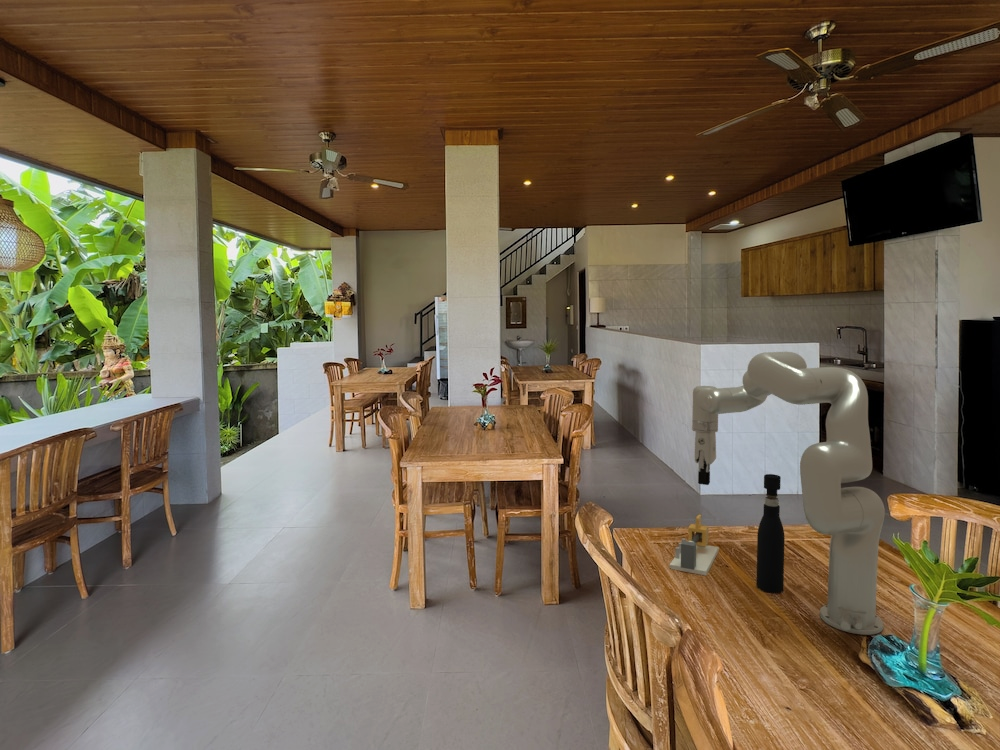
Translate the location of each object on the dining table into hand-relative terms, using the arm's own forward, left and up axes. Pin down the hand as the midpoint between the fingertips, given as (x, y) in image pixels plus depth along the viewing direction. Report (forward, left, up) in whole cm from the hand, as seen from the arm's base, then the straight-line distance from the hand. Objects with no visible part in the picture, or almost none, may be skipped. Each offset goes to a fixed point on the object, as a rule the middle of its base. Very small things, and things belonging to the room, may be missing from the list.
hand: (703, 483), depth 181 cm
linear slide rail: (-13, 0, -20) cm, 24 cm away
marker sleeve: (-9, 0, -16) cm, 18 cm away
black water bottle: (-23, -21, -20) cm, 37 cm away
